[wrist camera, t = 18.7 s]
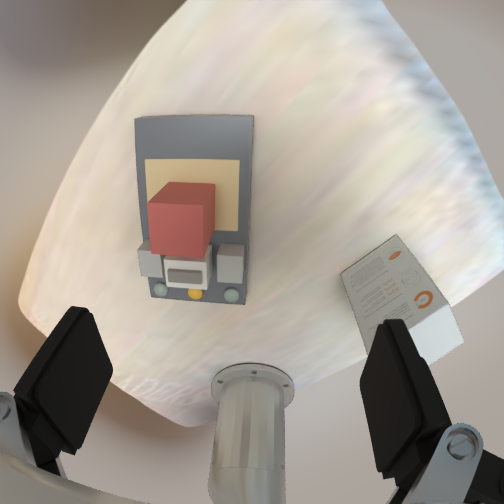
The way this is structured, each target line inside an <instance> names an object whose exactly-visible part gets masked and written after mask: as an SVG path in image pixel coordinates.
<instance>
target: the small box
mask: <svg viewBox="0 0 504 504" xmlns="http://www.w3.org/2000/svg"><path fill="white" fill-rule="evenodd" d="M341 277H342V280H343V283H344V286H345V289H346V292H347V295H348V298H349V301H350V303H351V306H352V309H353V312H354V315H355V318H356V321H357V324H358V327H359V330H360V333H361V336H362V339H363V342H364V346H365V349H366V352H367V355H369V352H370V349H371V346H372V343H373V340H374V336H375V333H376V330H377V327H378V325H379V324H383V321H384V320H385V319H403V321H404V322H405V324H406V326H407V329H408V331H409V333H410V335H411V337H412V339H413V341H414V343H415V346H416V348H417V350H418V352H419V355H420V357H423V358H424V359H425V361H426V362H427V364H428V365H430V364H432V363H433V362H435V361H436V360H438V359H439V358H441V357H442V356H444V355H445V354H447V353H448V352H450V351H451V350H453V349H454V348H456V347H457V346H459V345H460V344H462V343H463V342H464V339H463V337H462V334H461V331H460V329H459V326H458V324H457V321H456V319H455V316H454V314H453V311H452V309H451V306H450V304H449V302H448V301H447V300H446V298H445V297H444V296H443V294H442V293H441V292H440V290H439V289H438V287H437V286H436V285H435V283H434V282H433V280H432V279H431V278H430V276H429V275H428V274H427V272H426V271H425V270H424V268H423V267H422V266H421V264H420V263H419V262H418V260H417V259H416V258H415V256H414V255H413V254H412V253H411V251H410V250H409V249H408V248H407V246H406V245H405V244H404V243H403V241H402V240H401V239H400V238H399V237H398V236H397V235H395V236H394V237H392V238H391V239H389V240H388V241H387V242H385V243H384V244H382V245H381V246H380V247H378V248H377V249H375V250H374V251H373V252H371V253H370V254H368V255H367V256H366V257H364V258H363V259H361V260H360V261H358V262H357V263H356V264H354V265H353V266H351V267H350V268H348V269H347V270H345V271H344V272H343V273H341Z"/></svg>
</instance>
